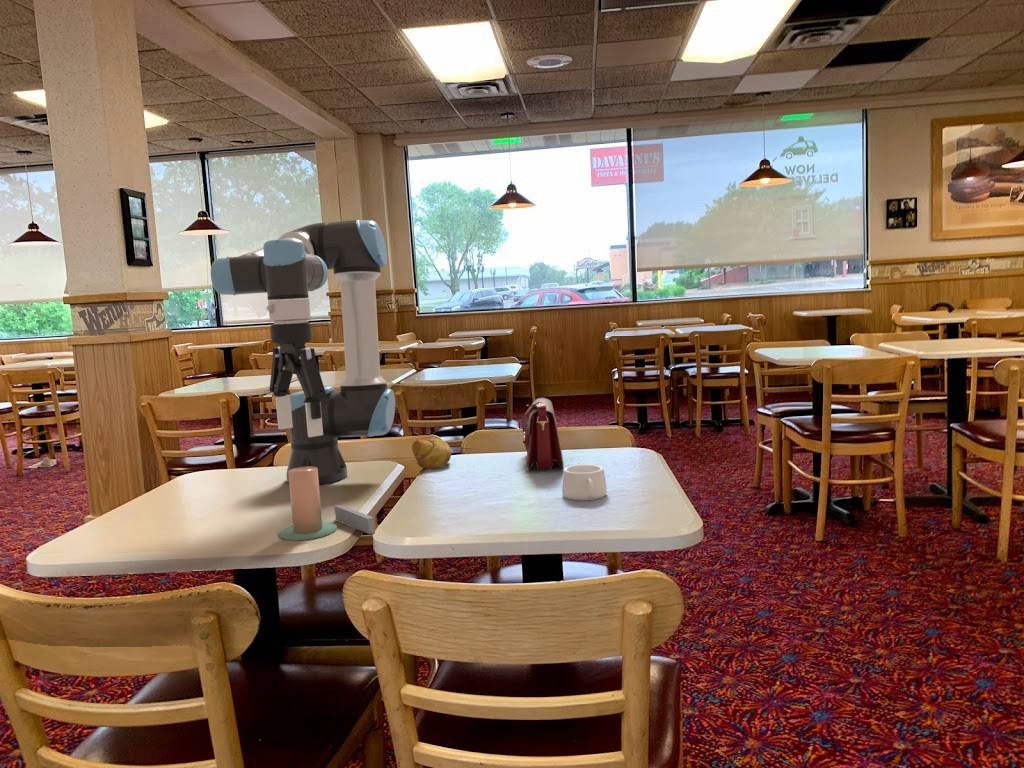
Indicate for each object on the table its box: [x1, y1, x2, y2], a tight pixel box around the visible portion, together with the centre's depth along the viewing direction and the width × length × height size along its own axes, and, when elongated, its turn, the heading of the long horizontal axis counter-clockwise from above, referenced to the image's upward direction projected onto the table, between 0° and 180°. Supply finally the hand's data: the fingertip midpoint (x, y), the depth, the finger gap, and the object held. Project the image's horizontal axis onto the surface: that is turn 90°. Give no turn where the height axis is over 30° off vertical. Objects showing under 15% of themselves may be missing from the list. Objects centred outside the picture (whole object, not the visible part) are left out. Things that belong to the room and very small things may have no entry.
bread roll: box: [411, 437, 452, 469], centre depth 203 cm, size 13×10×8 cm
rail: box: [334, 504, 376, 535], centre depth 150 cm, size 14×1×3 cm, turn 40°
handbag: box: [521, 397, 564, 471], centre depth 199 cm, size 28×11×17 cm, turn 178°
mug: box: [561, 463, 608, 501], centre depth 163 cm, size 12×10×6 cm
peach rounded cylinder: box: [288, 467, 323, 534], centre depth 148 cm, size 6×6×12 cm
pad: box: [278, 521, 338, 542], centre depth 148 cm, size 11×11×1 cm
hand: (300, 432), depth 146 cm, fingers open, 13 cm apart
